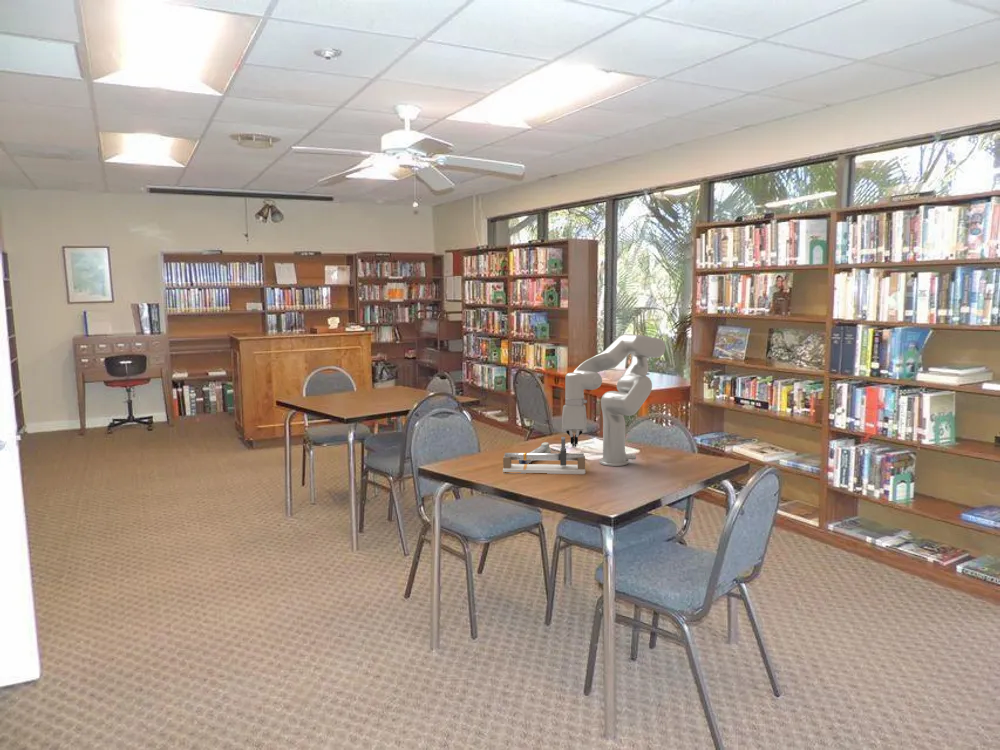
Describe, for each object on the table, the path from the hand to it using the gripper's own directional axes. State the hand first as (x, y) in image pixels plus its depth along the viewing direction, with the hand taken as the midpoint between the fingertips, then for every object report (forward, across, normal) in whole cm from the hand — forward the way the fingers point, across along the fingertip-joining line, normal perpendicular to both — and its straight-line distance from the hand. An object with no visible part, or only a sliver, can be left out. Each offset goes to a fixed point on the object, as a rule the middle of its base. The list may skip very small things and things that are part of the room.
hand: (574, 446), depth 292 cm
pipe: (+6, +13, 0) cm, 14 cm away
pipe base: (+11, +12, 0) cm, 17 cm away
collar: (+8, +5, 0) cm, 9 cm away
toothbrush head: (+11, +17, -20) cm, 28 cm away
